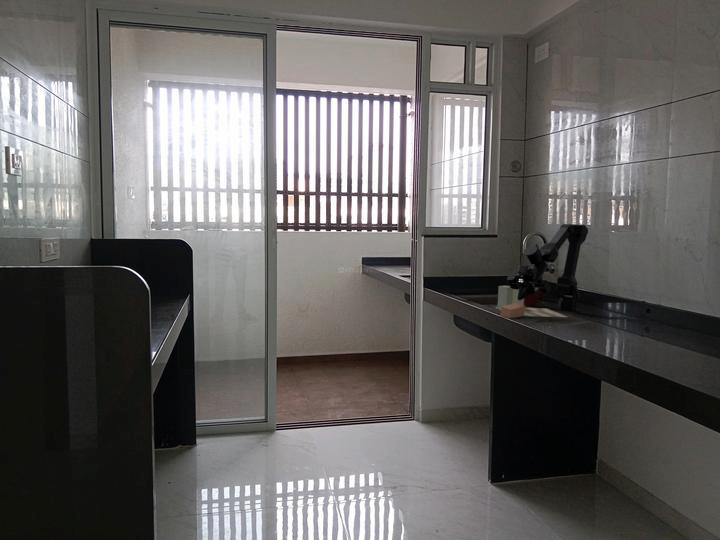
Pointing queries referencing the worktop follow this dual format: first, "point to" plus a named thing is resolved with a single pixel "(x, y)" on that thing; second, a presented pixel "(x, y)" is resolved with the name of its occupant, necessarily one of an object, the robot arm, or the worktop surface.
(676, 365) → the worktop surface
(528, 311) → the maple board
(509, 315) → the terracotta block
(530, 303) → the mug
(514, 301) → the cream block
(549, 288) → the robot arm
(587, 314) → the worktop surface
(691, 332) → the worktop surface
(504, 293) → the sage block
